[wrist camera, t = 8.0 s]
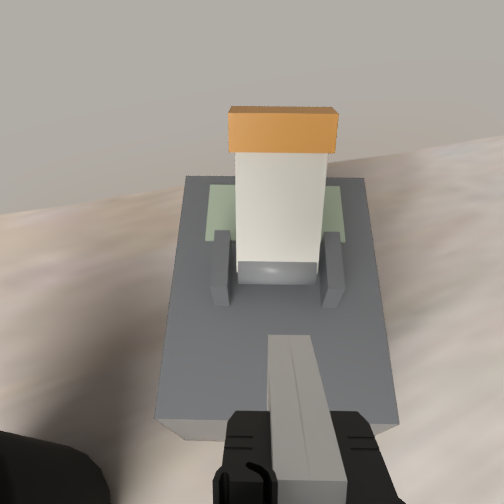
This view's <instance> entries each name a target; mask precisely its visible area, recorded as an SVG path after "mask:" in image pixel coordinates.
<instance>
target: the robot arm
mask: <svg viewBox="0 0 504 504" xmlns="http://www.w3.org/2000/svg"><path fill="white" fill-rule="evenodd" d="M213 504H406V503H405V502H403V501H402V500H401V499H400V498H398V496H397V493H396V491H395V488H394V486H393V483H392V480H391V478H390V475H389V473H388V470H387V468H386V465H385V462H384V460H383V457H382V455H381V452H380V451H379V447H378V444H377V442H376V440H375V437H374V434H373V431H372V429H371V426H370V424H369V422H368V421H367V420H366V419H365V418H364V417H363V416H362V415H361V414H360V413H359V412H358V411H329V408H328V404H327V400H326V396H325V392H324V388H323V384H322V380H321V377H320V373H319V369H318V365H317V361H316V357H315V353H314V349H313V345H312V342H311V338H310V335H268V364H267V411H238V410H236V411H235V412H234V413H233V415H232V416H231V418H230V419H229V420H228V422H227V428H226V438H225V445H224V454H223V462H222V466H221V467H220V468H219V469H218V470H217V471H216V474H215V476H214V479H213Z"/></svg>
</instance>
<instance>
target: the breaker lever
mask: <svg viewBox="0 0 504 504" xmlns="http://www.w3.org/2000/svg"><path fill="white" fill-rule="evenodd" d="M338 117H339V114H338V113H337V112H336V111H335V110H334V109H333V108H332V107H265V106H264V107H263V106H258V107H257V106H231V108H230V110H229V112H228V125H229V126H228V130H229V152H235V192H236V266H237V272H238V284H263V285H315V283H316V275H317V274H318V263H319V251H320V240H321V229H322V218H323V207H324V196H325V185H326V173H327V162H328V153H335V146H336V137H337V127H338Z"/></svg>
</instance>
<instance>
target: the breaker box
mask: <svg viewBox="0 0 504 504" xmlns="http://www.w3.org/2000/svg"><path fill="white" fill-rule="evenodd" d="M268 335H310V338H311V342H312V345H313V349H314V353H315V357H316V361H317V365H318V369H319V373H320V377H321V380H322V384H323V388H324V392H325V396H326V400H327V404H328V408H329V411H358V412H359V413H360V414H361V415H362V416H363V417H364V418H365V419H366V420H367V421H368V422H369V424H370V426H371V429H372V431H373V434H374V436H375V435H377V434H379V433H382V432H384V431H386V430H388V429H390V428H393V427H395V426H397V425H399V417H398V410H397V403H396V396H395V389H394V383H393V376H392V369H391V362H390V355H389V348H388V341H387V334H386V328H385V321H384V314H383V307H382V300H381V293H380V286H379V279H378V273H377V266H376V259H375V252H374V245H373V238H372V231H371V224H370V218H369V211H368V204H367V197H366V190H365V183H364V178H326V185H325V196H324V207H323V218H322V229H321V240H320V251H319V263H318V274H317V275H316V283H315V285H263V284H238V272H237V266H236V192H235V176H232V177H231V176H186V181H185V188H184V196H183V203H182V211H181V218H180V226H179V234H178V241H177V249H176V256H175V264H174V272H173V279H172V287H171V294H170V302H169V310H168V317H167V325H166V332H165V340H164V348H163V355H162V363H161V370H160V378H159V386H158V393H157V401H156V408H155V416H154V419H155V420H157V421H158V422H159V423H161V424H162V425H164V426H165V427H167V428H168V429H170V430H171V431H172V432H174V433H175V434H177V435H178V436H180V437H181V438H183V439H184V440H194V441H225V438H226V428H227V422H228V420H229V419H230V418H231V416H232V415H233V413H234V412H235V411H236V410H238V411H267V364H268Z"/></svg>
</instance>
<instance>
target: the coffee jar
mask: <svg viewBox="0 0 504 504" xmlns="http://www.w3.org/2000/svg"><path fill="white" fill-rule="evenodd" d="M0 504H111V502H110V491H109V488H108V485H107V483H106V481H105V478H104V476H103V474H102V471H101V469H100V468H99V467H98V466H97V465H96V464H95V463H94V462H93V461H92V460H91V459H90V458H89V457H88V456H87V454H85V453H82V452H80V451H78V450H75V449H73V448H71V447H69V446H65V445H61V444H56V443H52V442H47V441H43V440H39V439H34V438H30V437H26V436H21V435H17V434H12V433H8V432H4V431H0Z"/></svg>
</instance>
